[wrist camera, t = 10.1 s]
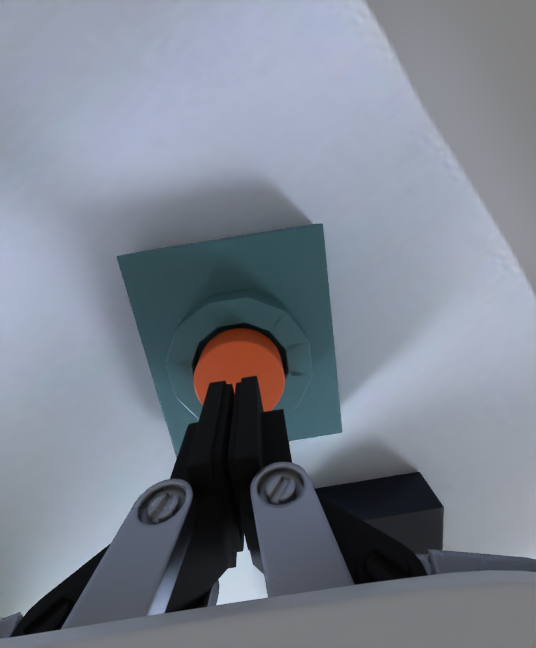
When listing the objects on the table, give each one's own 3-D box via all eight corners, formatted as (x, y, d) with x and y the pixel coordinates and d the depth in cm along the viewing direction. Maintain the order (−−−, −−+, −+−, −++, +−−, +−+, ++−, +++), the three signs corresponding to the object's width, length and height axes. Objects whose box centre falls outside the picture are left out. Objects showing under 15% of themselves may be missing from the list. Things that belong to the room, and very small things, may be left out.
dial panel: (283, 493, 22) (288, 535, 19) (419, 471, 22) (445, 509, 19) (305, 619, 27) (312, 669, 24) (419, 600, 27) (441, 648, 24)
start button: (191, 334, 14) (183, 348, 13) (275, 321, 14) (278, 333, 13) (209, 407, 16) (204, 429, 14) (286, 395, 16) (290, 415, 14)
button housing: (132, 252, 17) (97, 260, 13) (314, 223, 17) (332, 222, 13) (184, 435, 20) (168, 483, 17) (333, 411, 20) (351, 454, 17)
